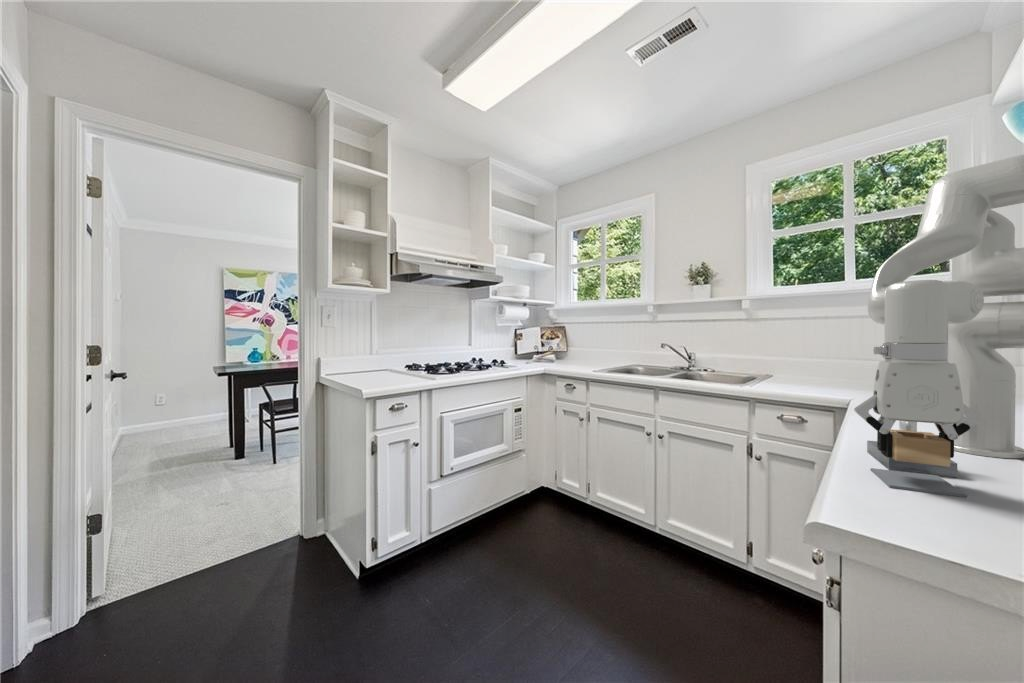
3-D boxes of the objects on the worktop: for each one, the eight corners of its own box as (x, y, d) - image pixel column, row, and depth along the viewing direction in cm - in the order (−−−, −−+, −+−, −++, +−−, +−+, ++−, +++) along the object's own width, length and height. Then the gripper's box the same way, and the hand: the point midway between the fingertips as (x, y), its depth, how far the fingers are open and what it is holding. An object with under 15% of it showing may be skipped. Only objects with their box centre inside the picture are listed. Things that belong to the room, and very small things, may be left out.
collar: (882, 450, 71) (882, 428, 71) (930, 455, 68) (931, 432, 68) (896, 460, 65) (896, 437, 65) (950, 466, 62) (950, 441, 62)
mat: (870, 470, 73) (870, 468, 73) (937, 477, 68) (937, 475, 68) (889, 487, 65) (889, 485, 65) (966, 497, 61) (966, 494, 61)
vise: (859, 445, 88) (859, 400, 87) (914, 450, 83) (914, 403, 83) (889, 470, 73) (889, 415, 72) (957, 477, 68) (957, 419, 68)
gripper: (855, 354, 67) (855, 457, 67) (1004, 355, 59) (1002, 473, 59) (843, 352, 73) (842, 446, 74) (975, 353, 65) (973, 459, 66)
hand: (913, 457), depth 66 cm, fingers closed on collar, 6 cm apart
